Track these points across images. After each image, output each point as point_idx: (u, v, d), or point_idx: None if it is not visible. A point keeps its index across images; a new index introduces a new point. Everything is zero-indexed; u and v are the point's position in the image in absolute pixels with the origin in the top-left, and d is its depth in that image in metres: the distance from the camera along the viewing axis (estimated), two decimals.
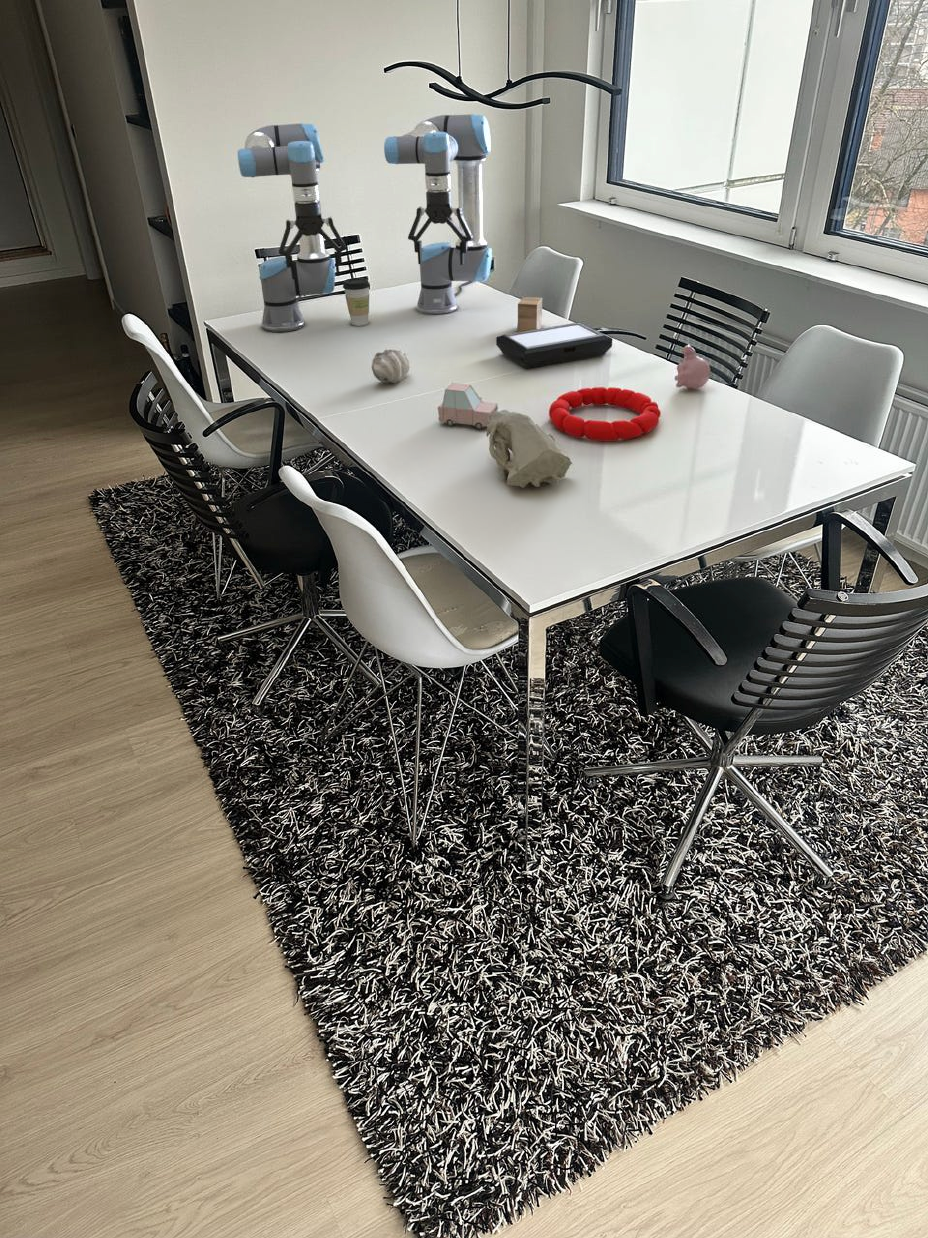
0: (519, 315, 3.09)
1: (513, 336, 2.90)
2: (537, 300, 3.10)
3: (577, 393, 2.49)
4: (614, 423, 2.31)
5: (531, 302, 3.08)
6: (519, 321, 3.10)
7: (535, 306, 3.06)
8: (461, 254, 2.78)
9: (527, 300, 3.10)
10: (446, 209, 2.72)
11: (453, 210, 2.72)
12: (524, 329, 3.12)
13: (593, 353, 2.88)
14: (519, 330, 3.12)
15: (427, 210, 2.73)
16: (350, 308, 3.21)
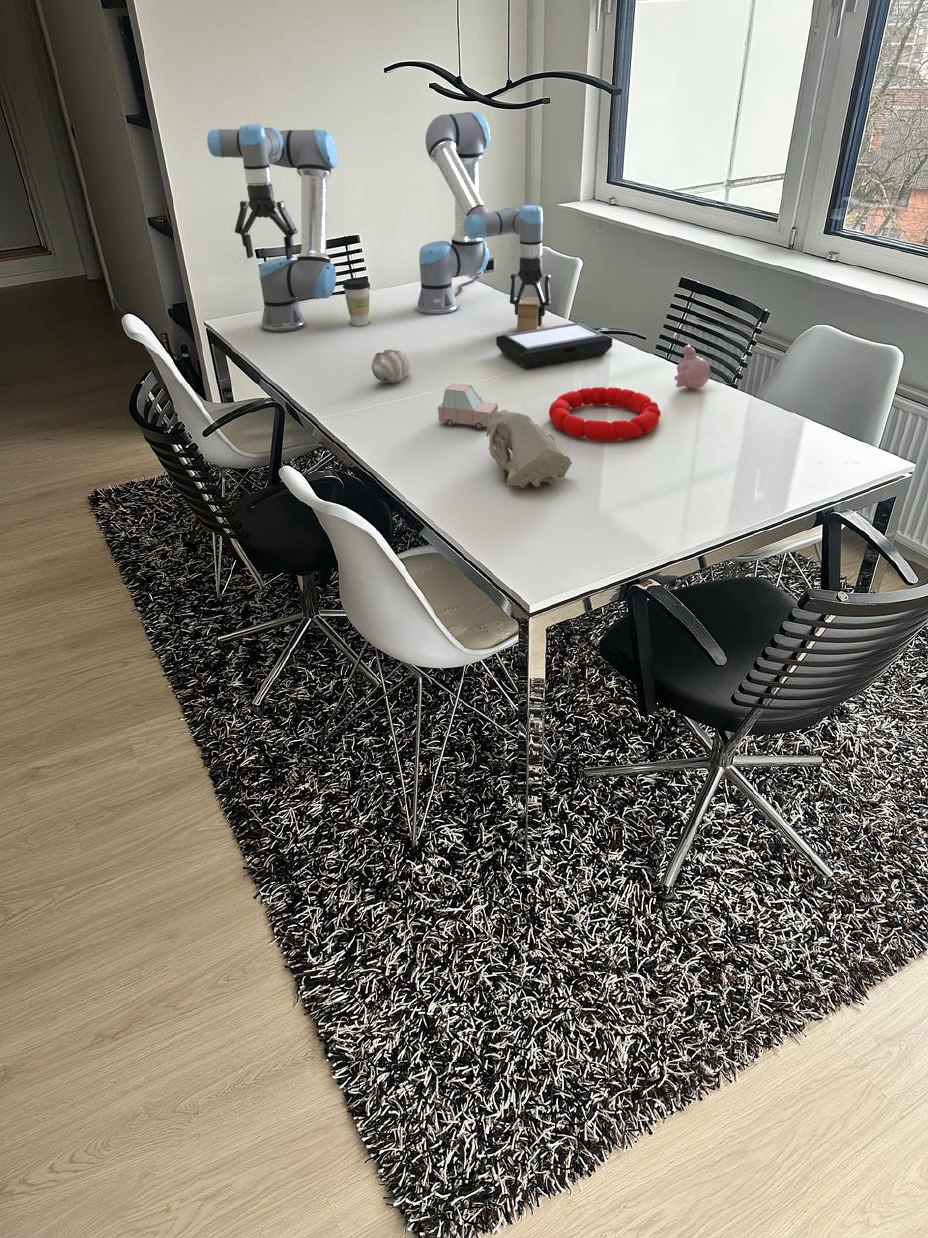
0: (519, 315, 3.09)
1: (513, 336, 2.90)
2: (537, 300, 3.10)
3: (577, 393, 2.49)
4: (614, 423, 2.31)
5: (531, 302, 3.08)
6: (519, 321, 3.10)
7: (535, 306, 3.06)
8: None
9: (527, 300, 3.10)
10: None
11: None
12: (524, 329, 3.12)
13: (593, 353, 2.88)
14: (519, 330, 3.12)
15: None
16: (350, 308, 3.21)
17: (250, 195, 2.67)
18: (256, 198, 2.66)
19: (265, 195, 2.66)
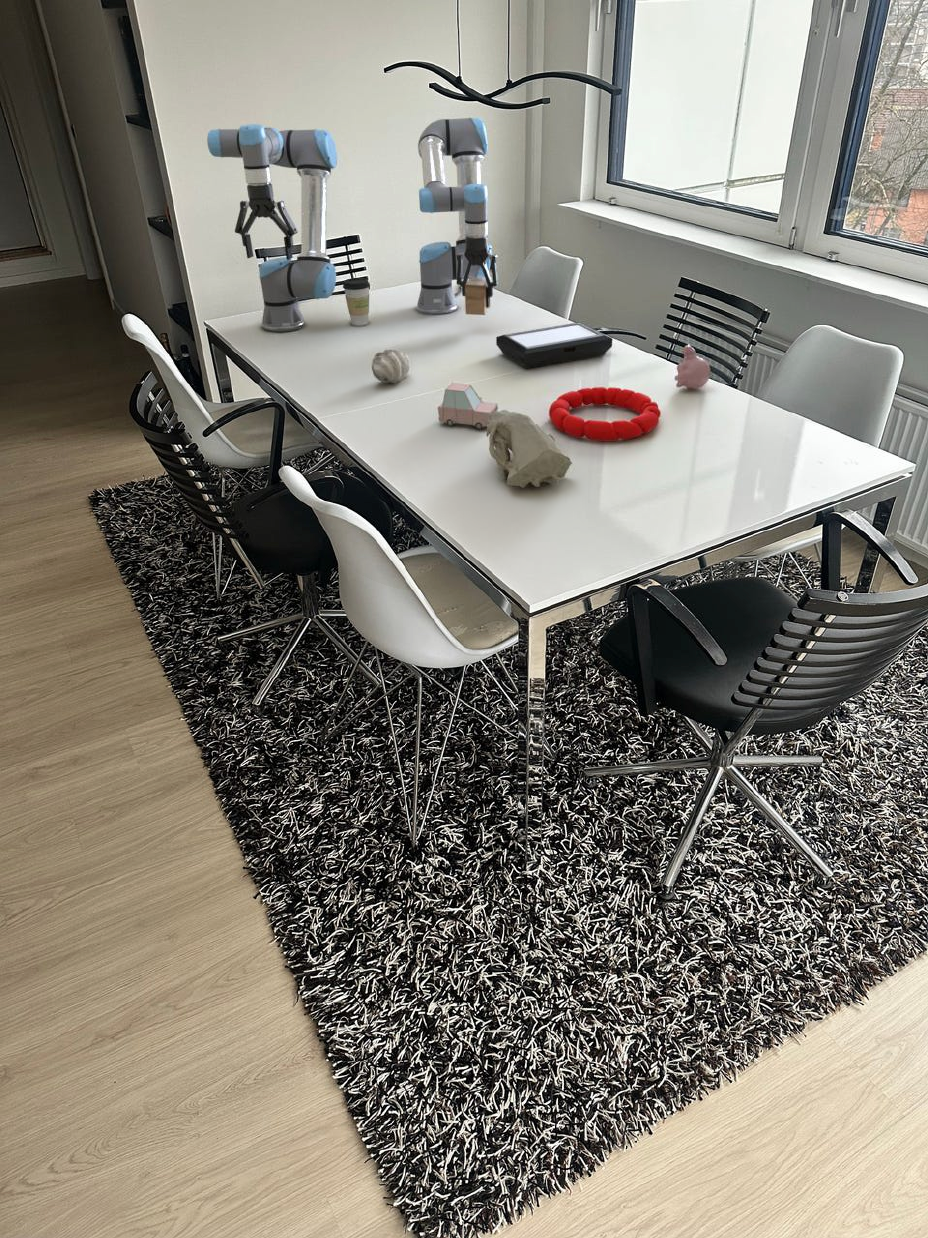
0: (466, 296, 3.04)
1: (513, 336, 2.90)
2: (484, 281, 3.05)
3: (577, 393, 2.49)
4: (614, 423, 2.31)
5: (478, 283, 3.03)
6: (467, 302, 3.06)
7: (482, 287, 3.01)
8: None
9: (474, 281, 3.05)
10: None
11: None
12: (471, 311, 3.07)
13: (593, 353, 2.88)
14: (467, 312, 3.07)
15: None
16: (350, 308, 3.21)
17: (250, 195, 2.67)
18: (256, 198, 2.66)
19: (265, 195, 2.66)
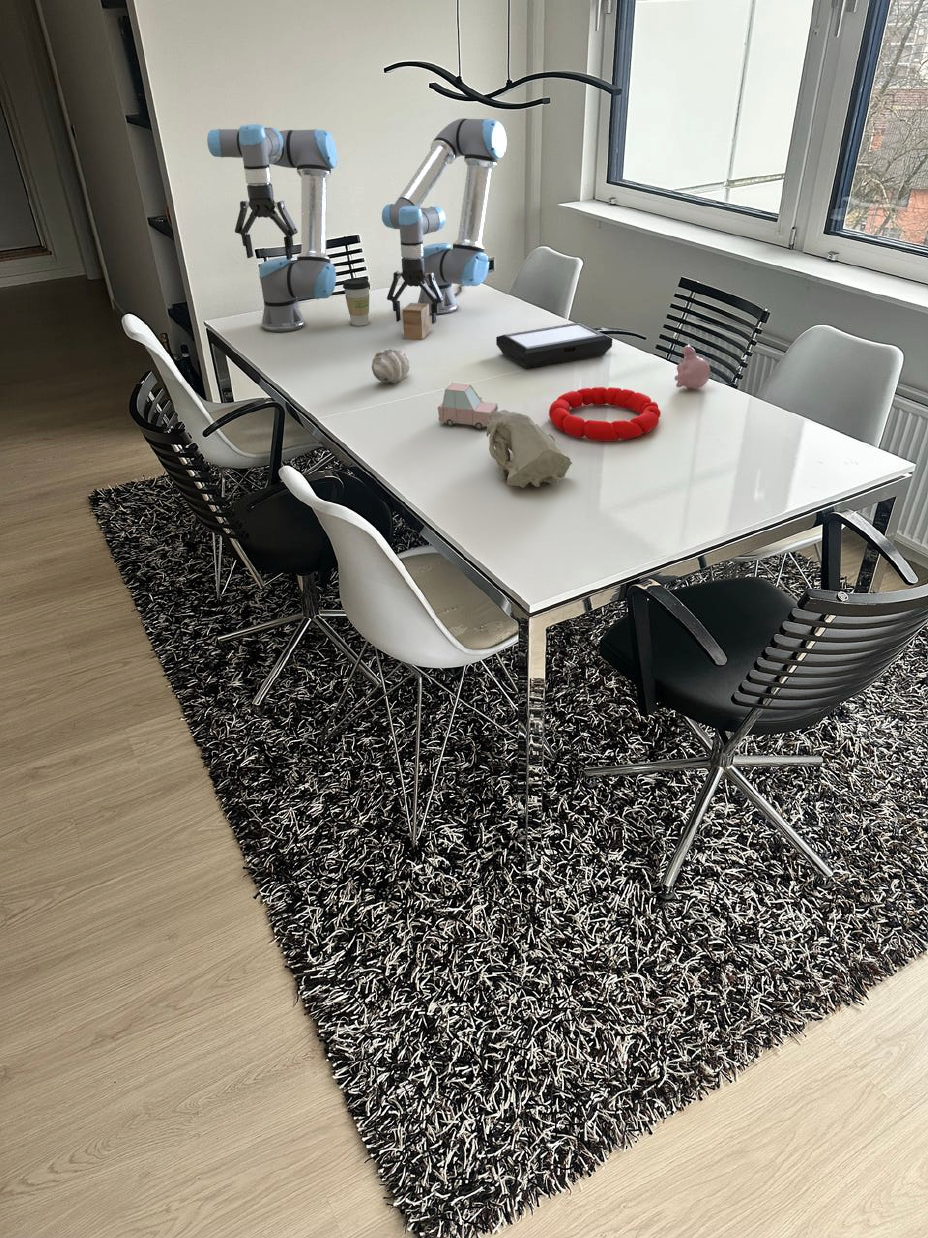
0: (404, 321, 3.07)
1: (513, 336, 2.90)
2: (422, 306, 3.08)
3: (577, 393, 2.49)
4: (614, 423, 2.31)
5: (416, 308, 3.06)
6: (405, 327, 3.08)
7: (419, 312, 3.04)
8: None
9: (413, 306, 3.08)
10: None
11: None
12: (410, 335, 3.10)
13: (593, 353, 2.88)
14: (405, 336, 3.10)
15: None
16: (350, 308, 3.21)
17: (250, 195, 2.67)
18: (256, 198, 2.66)
19: (265, 195, 2.66)
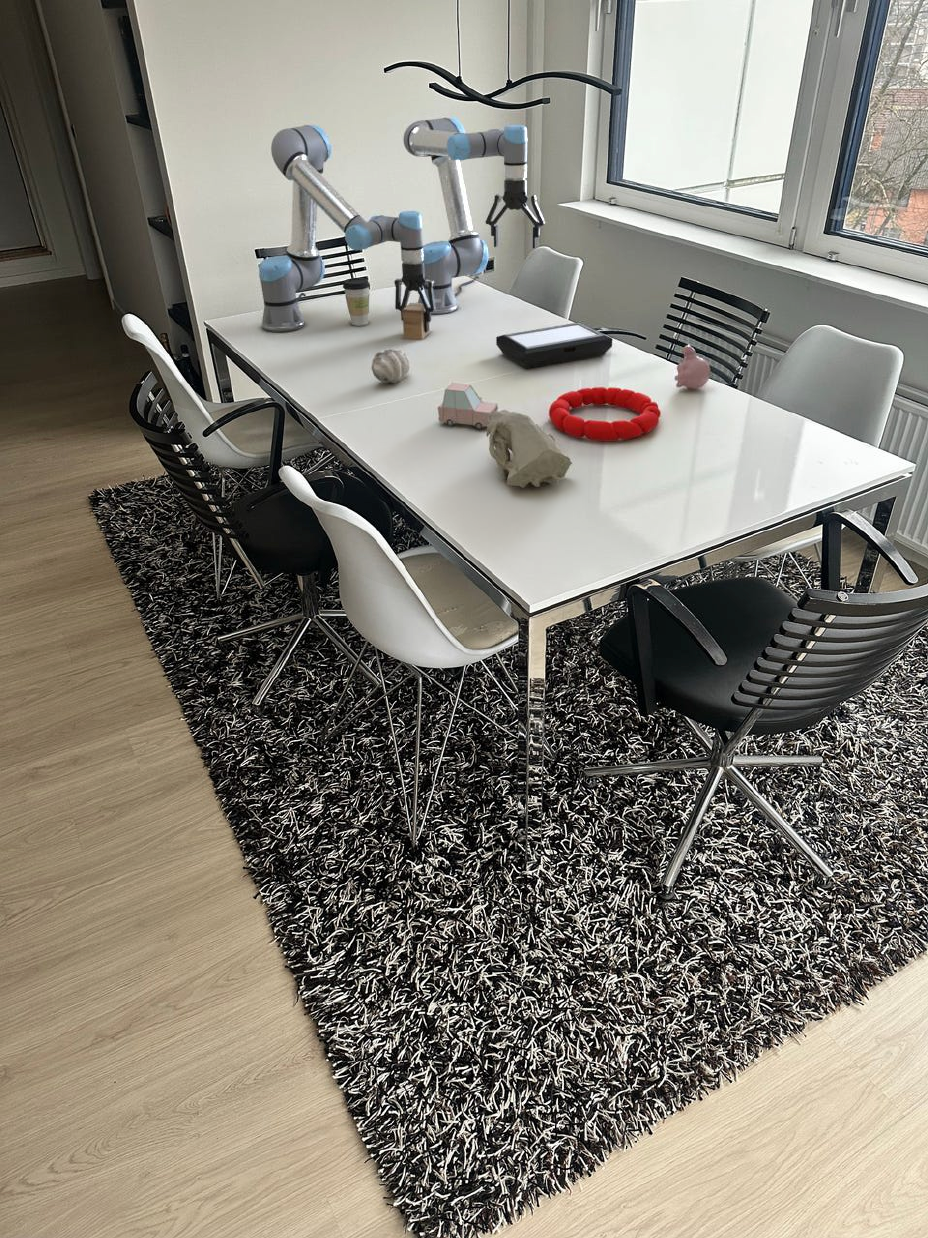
0: (404, 321, 3.07)
1: (513, 336, 2.90)
2: (422, 306, 3.08)
3: (577, 393, 2.49)
4: (614, 423, 2.31)
5: (416, 308, 3.06)
6: (405, 327, 3.08)
7: (419, 312, 3.04)
8: None
9: (413, 306, 3.08)
10: None
11: None
12: (410, 335, 3.10)
13: (593, 353, 2.88)
14: (405, 336, 3.10)
15: None
16: (350, 308, 3.21)
17: (405, 272, 2.99)
18: (411, 275, 2.98)
19: (419, 272, 2.98)
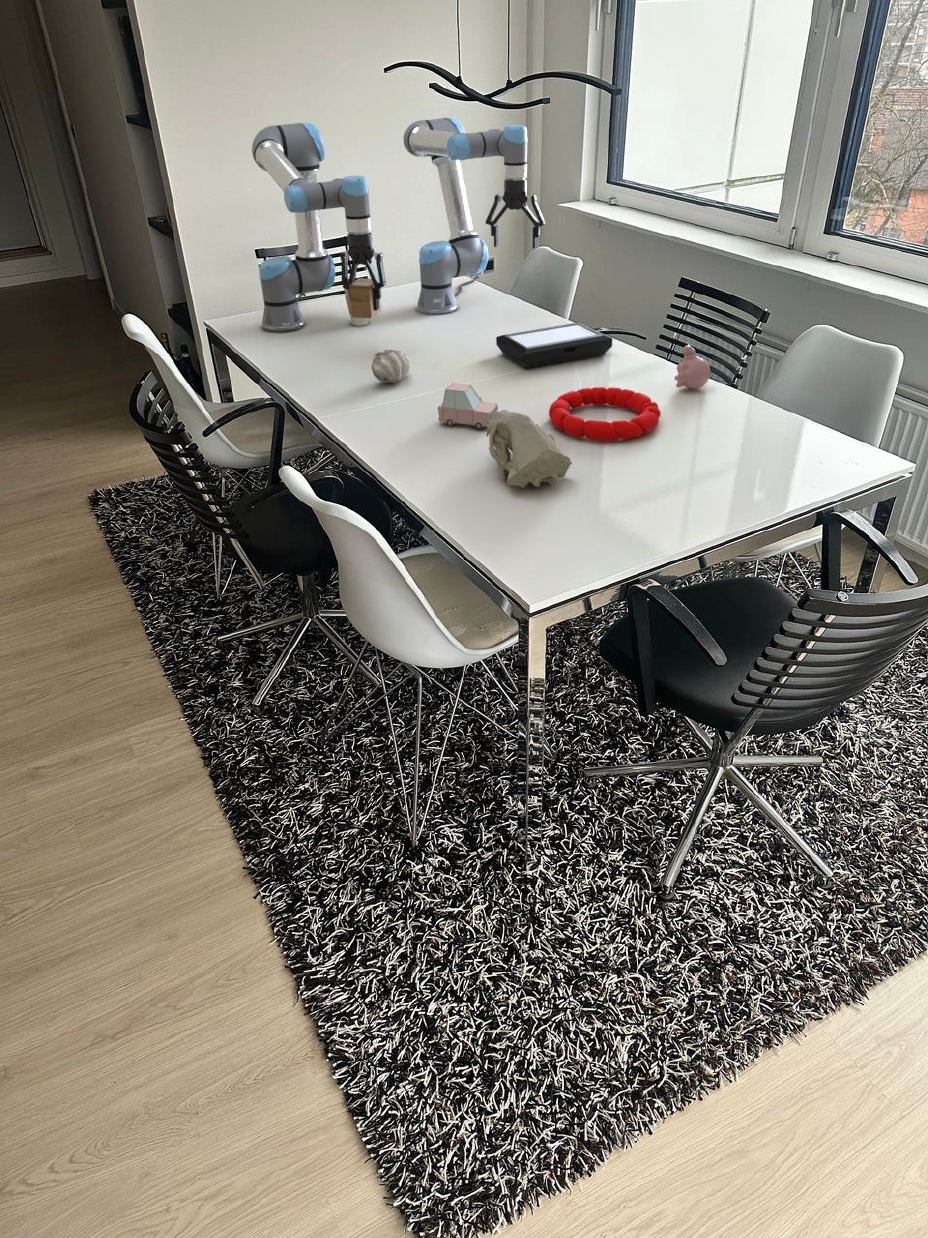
0: (351, 298, 2.81)
1: (513, 336, 2.90)
2: (371, 281, 2.82)
3: (577, 393, 2.49)
4: (614, 423, 2.31)
5: (364, 283, 2.80)
6: (352, 305, 2.82)
7: (367, 288, 2.78)
8: None
9: (361, 281, 2.82)
10: None
11: None
12: (358, 314, 2.83)
13: (593, 353, 2.88)
14: (353, 315, 2.84)
15: None
16: (350, 308, 3.21)
17: (351, 244, 2.73)
18: (357, 247, 2.72)
19: (366, 244, 2.72)
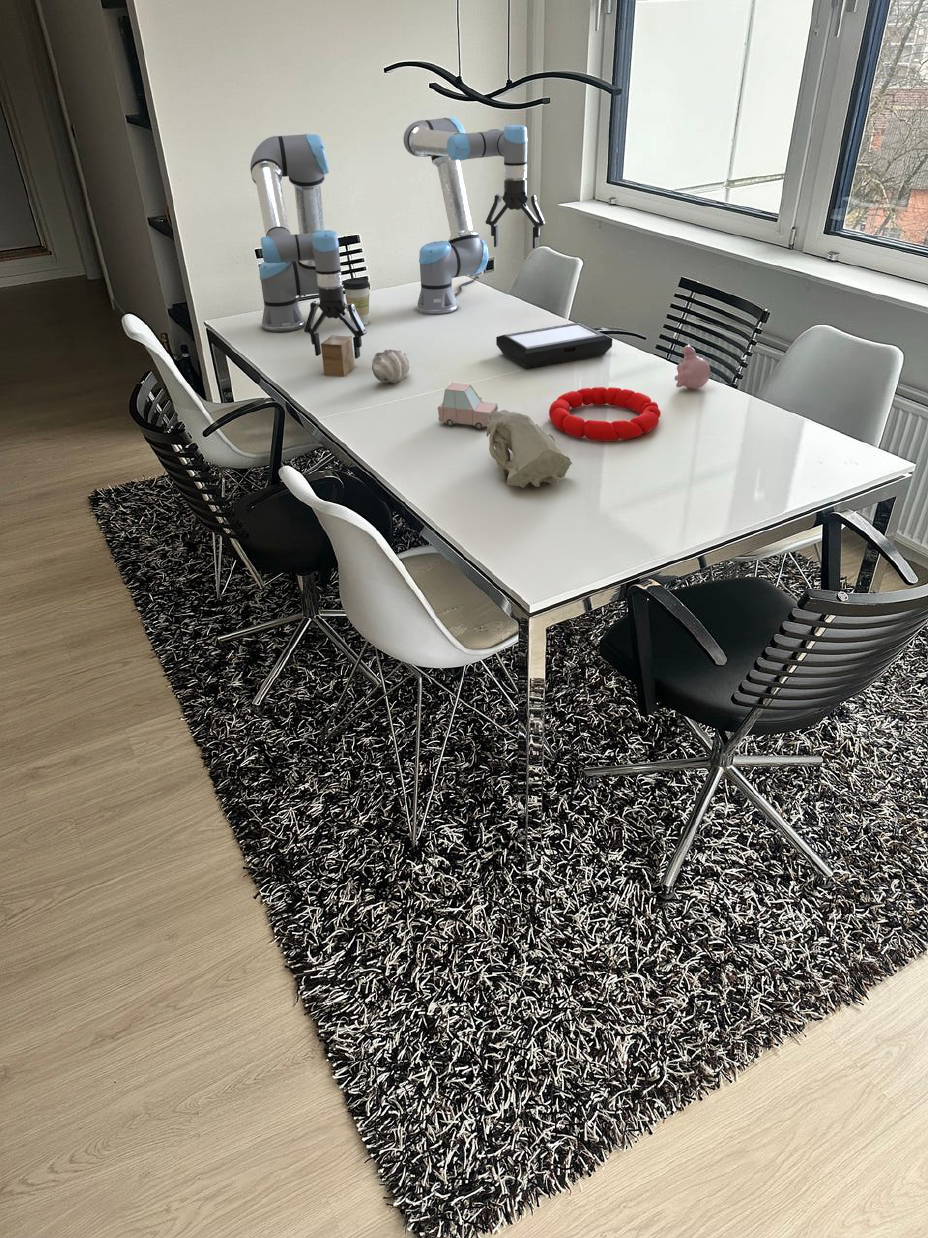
0: (323, 356, 2.79)
1: (513, 336, 2.90)
2: (344, 339, 2.79)
3: (577, 393, 2.49)
4: (614, 423, 2.31)
5: (336, 342, 2.77)
6: (324, 363, 2.80)
7: (339, 347, 2.75)
8: None
9: (333, 339, 2.80)
10: None
11: None
12: (330, 372, 2.81)
13: (593, 353, 2.88)
14: (326, 372, 2.81)
15: None
16: None
17: (321, 298, 2.69)
18: (327, 301, 2.69)
19: (336, 298, 2.69)
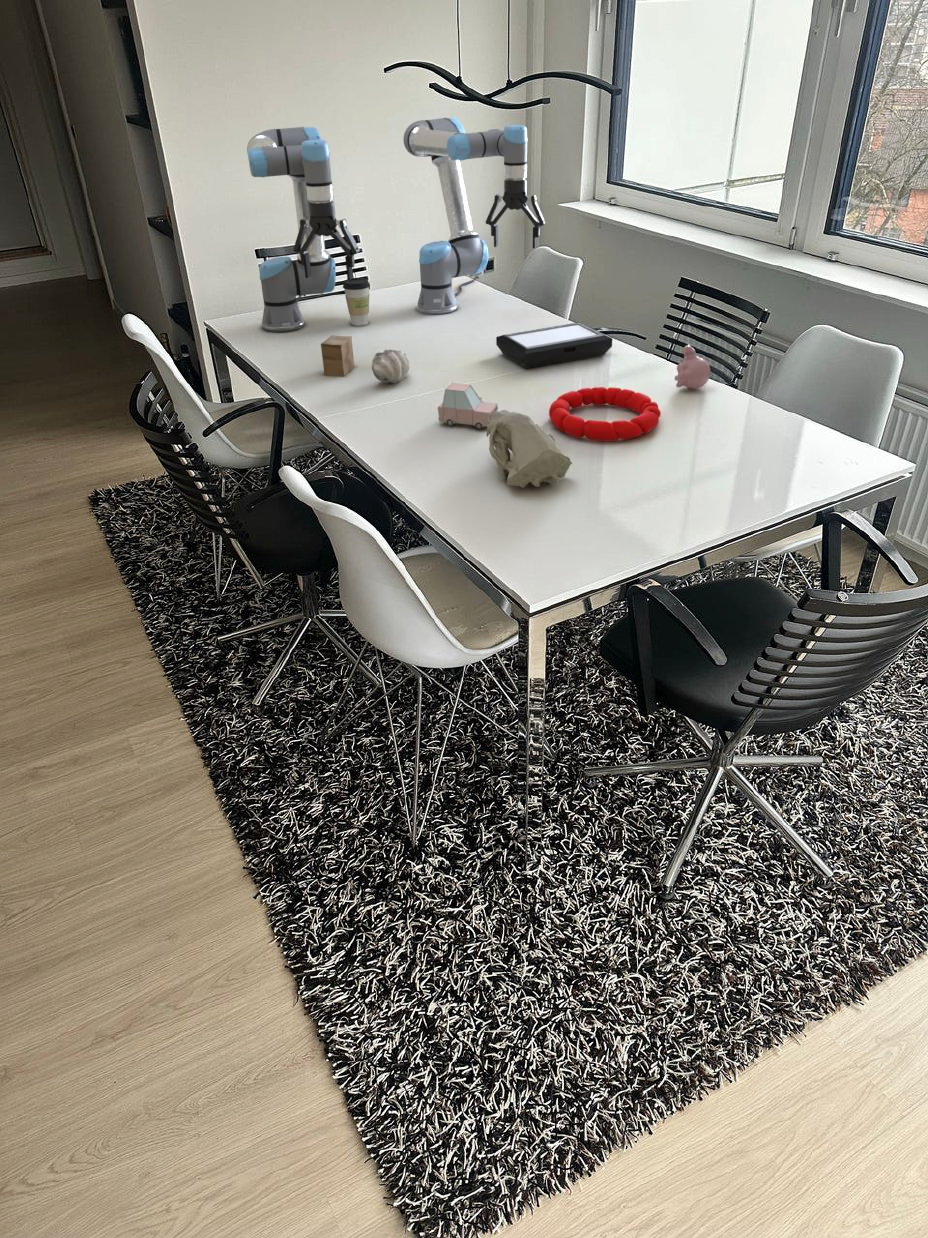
0: (323, 356, 2.79)
1: (513, 336, 2.90)
2: (344, 339, 2.79)
3: (577, 393, 2.49)
4: (614, 423, 2.31)
5: (336, 342, 2.77)
6: (324, 363, 2.80)
7: (339, 347, 2.75)
8: None
9: (333, 339, 2.80)
10: None
11: None
12: (330, 372, 2.81)
13: (593, 353, 2.88)
14: (326, 372, 2.81)
15: None
16: (350, 308, 3.21)
17: (311, 213, 2.56)
18: (318, 216, 2.55)
19: (327, 213, 2.55)
